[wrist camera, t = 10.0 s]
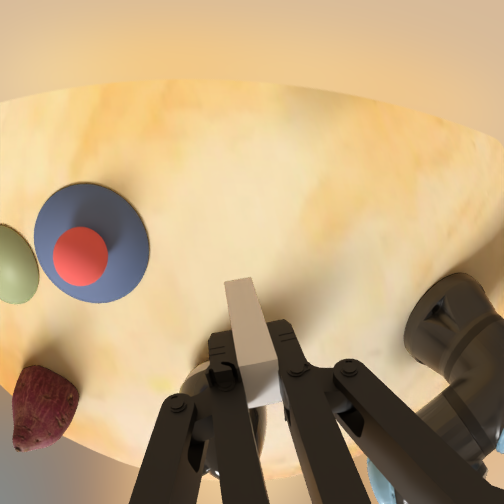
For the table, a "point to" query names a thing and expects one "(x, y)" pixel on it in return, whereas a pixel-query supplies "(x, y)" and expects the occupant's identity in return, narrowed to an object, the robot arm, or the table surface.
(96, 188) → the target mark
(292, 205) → the table surface
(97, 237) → the ball
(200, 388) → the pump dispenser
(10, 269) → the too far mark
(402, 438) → the robot arm
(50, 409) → the vegetable
